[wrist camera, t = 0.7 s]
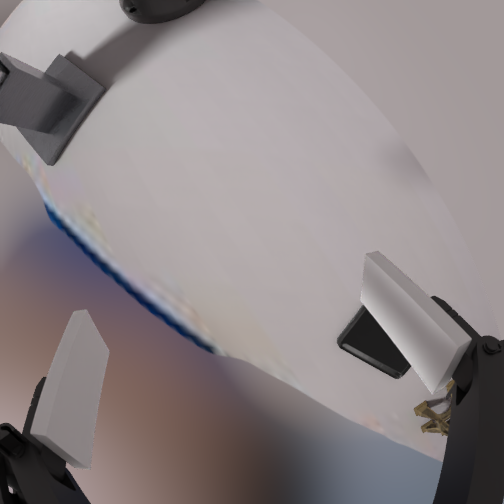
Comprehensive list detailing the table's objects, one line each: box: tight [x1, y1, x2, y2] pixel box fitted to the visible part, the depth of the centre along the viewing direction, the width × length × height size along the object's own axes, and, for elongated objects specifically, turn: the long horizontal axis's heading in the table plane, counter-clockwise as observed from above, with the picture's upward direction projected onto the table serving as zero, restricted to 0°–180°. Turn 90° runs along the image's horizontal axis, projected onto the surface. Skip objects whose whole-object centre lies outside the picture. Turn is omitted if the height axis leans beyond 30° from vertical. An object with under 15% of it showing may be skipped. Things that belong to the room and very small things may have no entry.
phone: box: [337, 305, 411, 379], centre depth 38 cm, size 8×1×15 cm
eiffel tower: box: [414, 380, 455, 436], centre depth 29 cm, size 11×11×25 cm
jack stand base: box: [0, 52, 106, 166], centre depth 24 cm, size 14×14×16 cm
